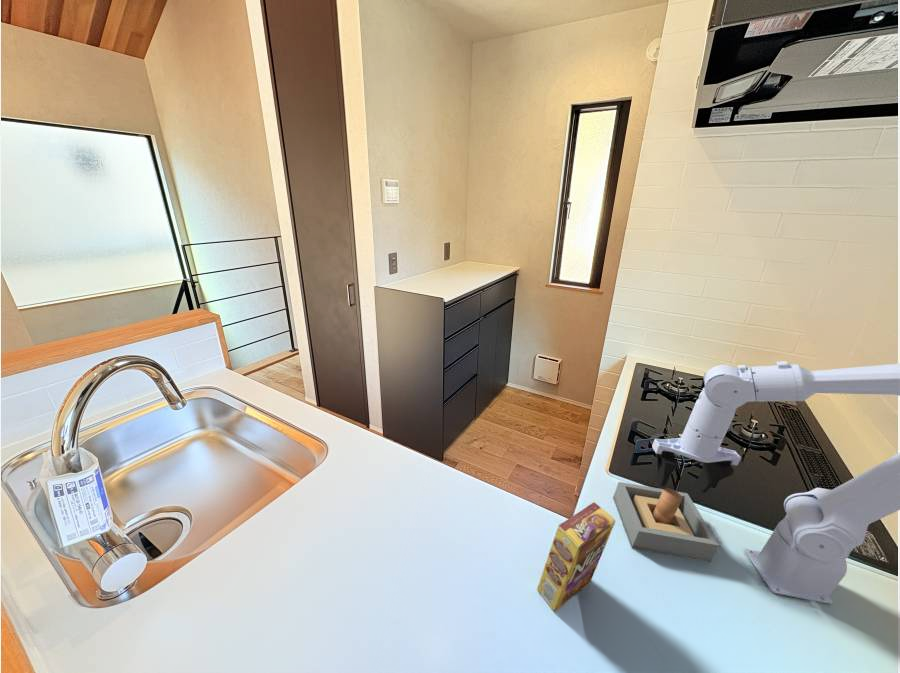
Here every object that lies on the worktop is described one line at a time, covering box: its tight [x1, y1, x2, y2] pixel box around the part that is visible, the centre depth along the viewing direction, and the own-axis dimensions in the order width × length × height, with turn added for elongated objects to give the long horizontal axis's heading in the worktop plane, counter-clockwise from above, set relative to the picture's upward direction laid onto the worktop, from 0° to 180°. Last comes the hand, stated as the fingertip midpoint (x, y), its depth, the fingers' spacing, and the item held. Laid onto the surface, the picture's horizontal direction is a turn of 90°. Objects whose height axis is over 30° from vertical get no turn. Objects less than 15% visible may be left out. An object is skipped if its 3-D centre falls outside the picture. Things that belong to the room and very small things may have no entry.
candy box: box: [536, 501, 616, 613], centre depth 55 cm, size 9×4×15 cm, turn 124°
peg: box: [652, 487, 682, 525], centre depth 69 cm, size 3×3×8 cm
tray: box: [612, 481, 721, 563], centre depth 70 cm, size 14×12×4 cm
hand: (680, 485), depth 69 cm, fingers open, 7 cm apart
